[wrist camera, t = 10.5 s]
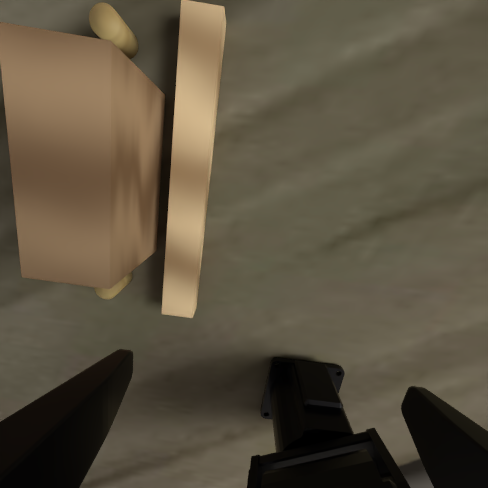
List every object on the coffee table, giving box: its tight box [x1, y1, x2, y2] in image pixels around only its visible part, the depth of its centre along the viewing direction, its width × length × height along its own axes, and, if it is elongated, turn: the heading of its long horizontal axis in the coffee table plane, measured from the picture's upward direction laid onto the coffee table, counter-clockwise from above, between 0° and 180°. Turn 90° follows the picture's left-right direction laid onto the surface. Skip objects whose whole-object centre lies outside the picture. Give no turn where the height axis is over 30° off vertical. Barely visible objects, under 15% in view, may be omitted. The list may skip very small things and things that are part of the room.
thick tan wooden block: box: [0, 22, 165, 289], centre depth 15 cm, size 11×5×7 cm, turn 172°
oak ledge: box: [89, 0, 226, 318], centre depth 17 cm, size 20×7×2 cm, turn 172°
